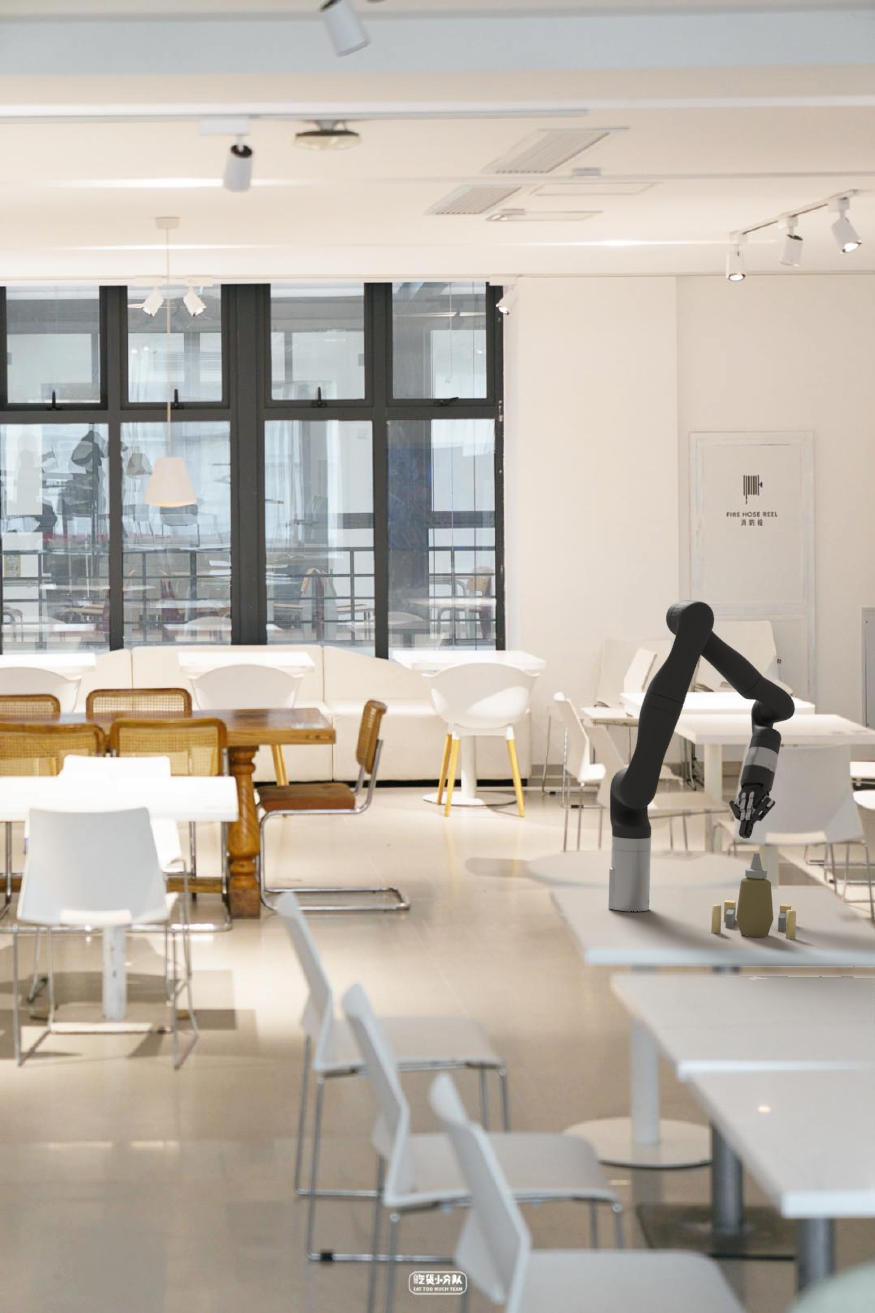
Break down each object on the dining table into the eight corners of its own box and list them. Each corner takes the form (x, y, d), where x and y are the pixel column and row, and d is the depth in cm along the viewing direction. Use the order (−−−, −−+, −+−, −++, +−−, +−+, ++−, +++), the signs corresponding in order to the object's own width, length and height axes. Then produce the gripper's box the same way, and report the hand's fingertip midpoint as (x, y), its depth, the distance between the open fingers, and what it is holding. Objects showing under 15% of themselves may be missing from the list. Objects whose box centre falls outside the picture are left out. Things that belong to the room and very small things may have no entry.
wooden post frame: (711, 933, 335) (711, 906, 335) (717, 918, 353) (718, 892, 353) (795, 939, 331) (795, 911, 331) (797, 924, 348) (798, 898, 348)
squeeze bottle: (768, 940, 329) (770, 857, 329) (731, 936, 333) (733, 853, 332) (777, 934, 336) (779, 852, 336) (740, 930, 340) (743, 849, 339)
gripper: (728, 766, 368) (712, 832, 361) (770, 760, 357) (755, 829, 351) (748, 778, 371) (733, 845, 365) (791, 774, 361) (776, 842, 354)
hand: (744, 837), depth 358 cm, fingers closed
